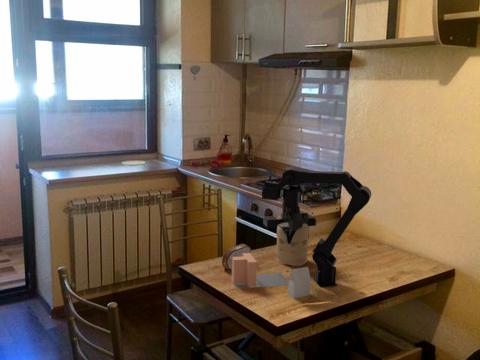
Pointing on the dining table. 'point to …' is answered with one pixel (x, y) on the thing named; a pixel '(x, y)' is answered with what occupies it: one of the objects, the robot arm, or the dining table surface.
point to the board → (265, 281)
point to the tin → (234, 254)
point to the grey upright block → (299, 282)
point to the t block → (244, 269)
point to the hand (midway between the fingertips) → (288, 243)
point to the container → (292, 247)
